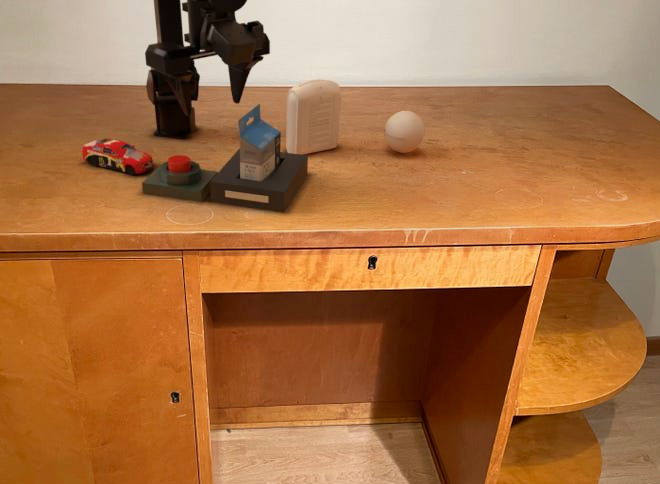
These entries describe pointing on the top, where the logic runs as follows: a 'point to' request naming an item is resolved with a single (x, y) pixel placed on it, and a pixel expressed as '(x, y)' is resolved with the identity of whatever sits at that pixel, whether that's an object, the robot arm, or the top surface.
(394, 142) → the seamed sphere
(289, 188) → the dark grey rectangular frame
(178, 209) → the top surface
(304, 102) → the cream rounded slab
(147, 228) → the top surface
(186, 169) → the button
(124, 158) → the race car
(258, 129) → the tape cartridge
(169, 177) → the button box
